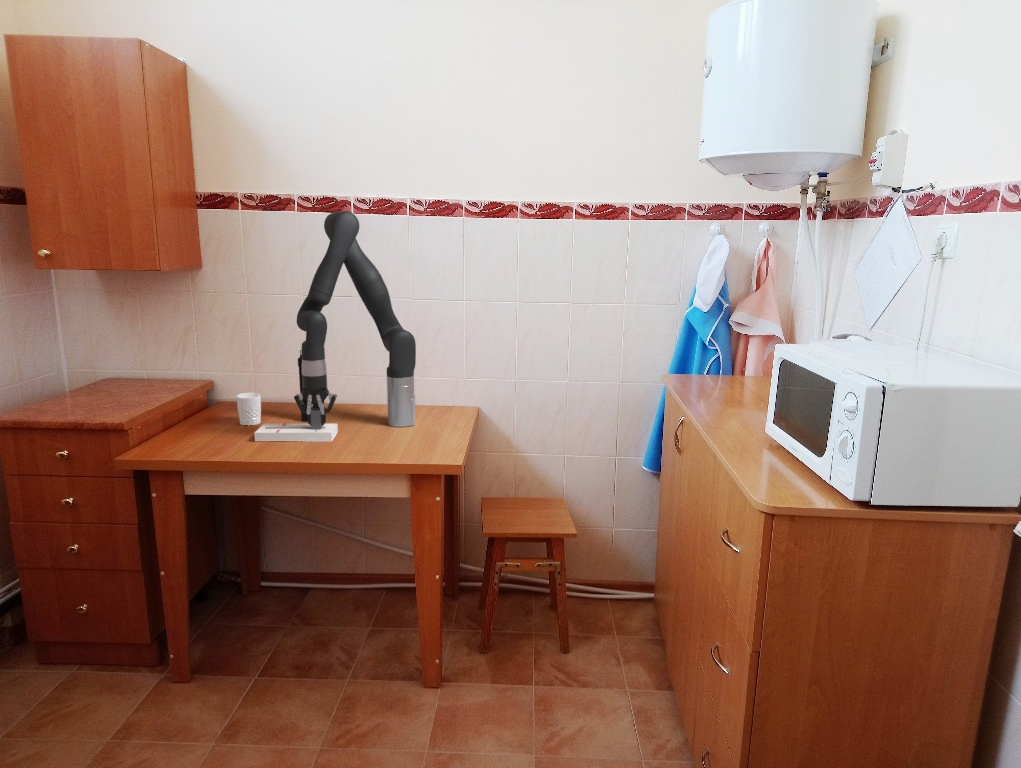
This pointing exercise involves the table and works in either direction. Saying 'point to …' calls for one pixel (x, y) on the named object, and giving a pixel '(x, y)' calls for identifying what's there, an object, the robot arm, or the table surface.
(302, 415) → the portable radio
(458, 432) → the table surface
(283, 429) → the panel
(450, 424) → the table surface
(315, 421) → the fader tab
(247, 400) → the white cup
